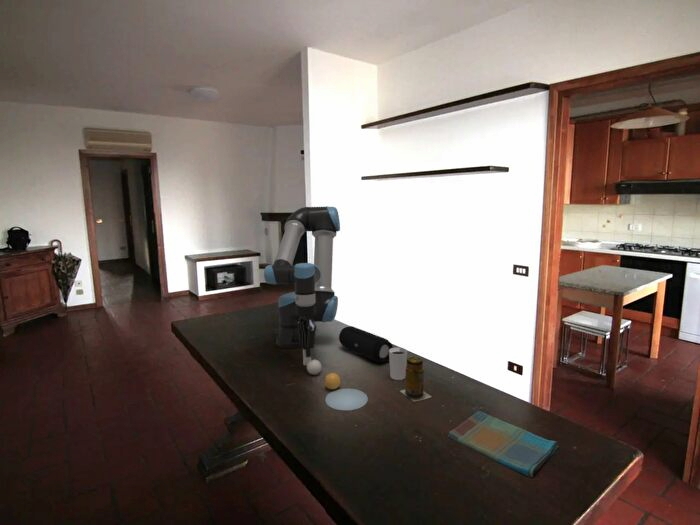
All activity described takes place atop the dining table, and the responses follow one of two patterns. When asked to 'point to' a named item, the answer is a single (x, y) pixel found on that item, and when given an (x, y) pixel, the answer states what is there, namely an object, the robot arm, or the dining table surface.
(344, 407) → the blue mark
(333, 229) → the robot arm
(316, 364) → the ivory ball
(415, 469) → the dining table surface
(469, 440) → the dish towel
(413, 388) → the condiment
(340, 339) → the portable speaker
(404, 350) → the white cup
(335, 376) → the orange ball
